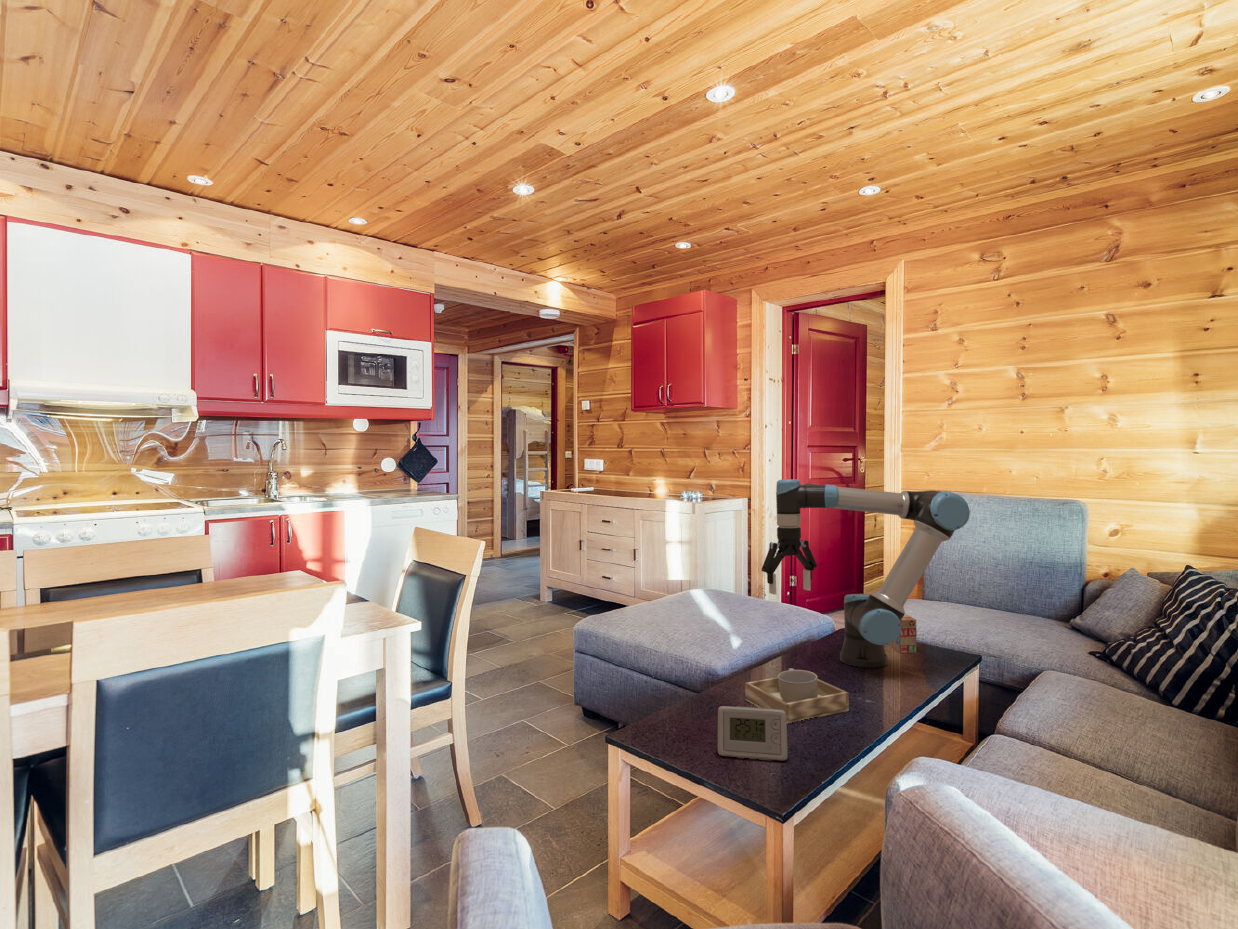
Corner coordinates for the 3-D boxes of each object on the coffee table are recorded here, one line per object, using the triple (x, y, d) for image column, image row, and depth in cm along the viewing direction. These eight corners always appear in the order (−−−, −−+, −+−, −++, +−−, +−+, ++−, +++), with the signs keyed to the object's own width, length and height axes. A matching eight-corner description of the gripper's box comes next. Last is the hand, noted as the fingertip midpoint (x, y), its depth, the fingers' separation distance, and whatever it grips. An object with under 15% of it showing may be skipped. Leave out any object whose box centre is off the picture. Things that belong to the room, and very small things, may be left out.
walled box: (804, 689, 193) (803, 672, 193) (848, 710, 175) (848, 692, 175) (745, 700, 185) (745, 682, 185) (786, 724, 167) (785, 705, 167)
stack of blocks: (873, 637, 248) (872, 606, 248) (889, 637, 248) (888, 605, 248) (900, 654, 227) (899, 619, 227) (917, 653, 227) (916, 618, 227)
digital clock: (714, 757, 150) (713, 711, 150) (724, 741, 158) (723, 698, 158) (784, 769, 143) (783, 721, 143) (791, 752, 151) (790, 707, 151)
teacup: (820, 712, 172) (819, 682, 172) (778, 709, 175) (778, 680, 175) (815, 693, 186) (814, 666, 186) (777, 691, 188) (776, 664, 188)
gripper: (812, 523, 215) (813, 586, 215) (749, 527, 206) (751, 593, 206) (827, 525, 209) (828, 590, 208) (763, 529, 199) (765, 597, 199)
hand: (790, 591), depth 207 cm, fingers open, 13 cm apart
